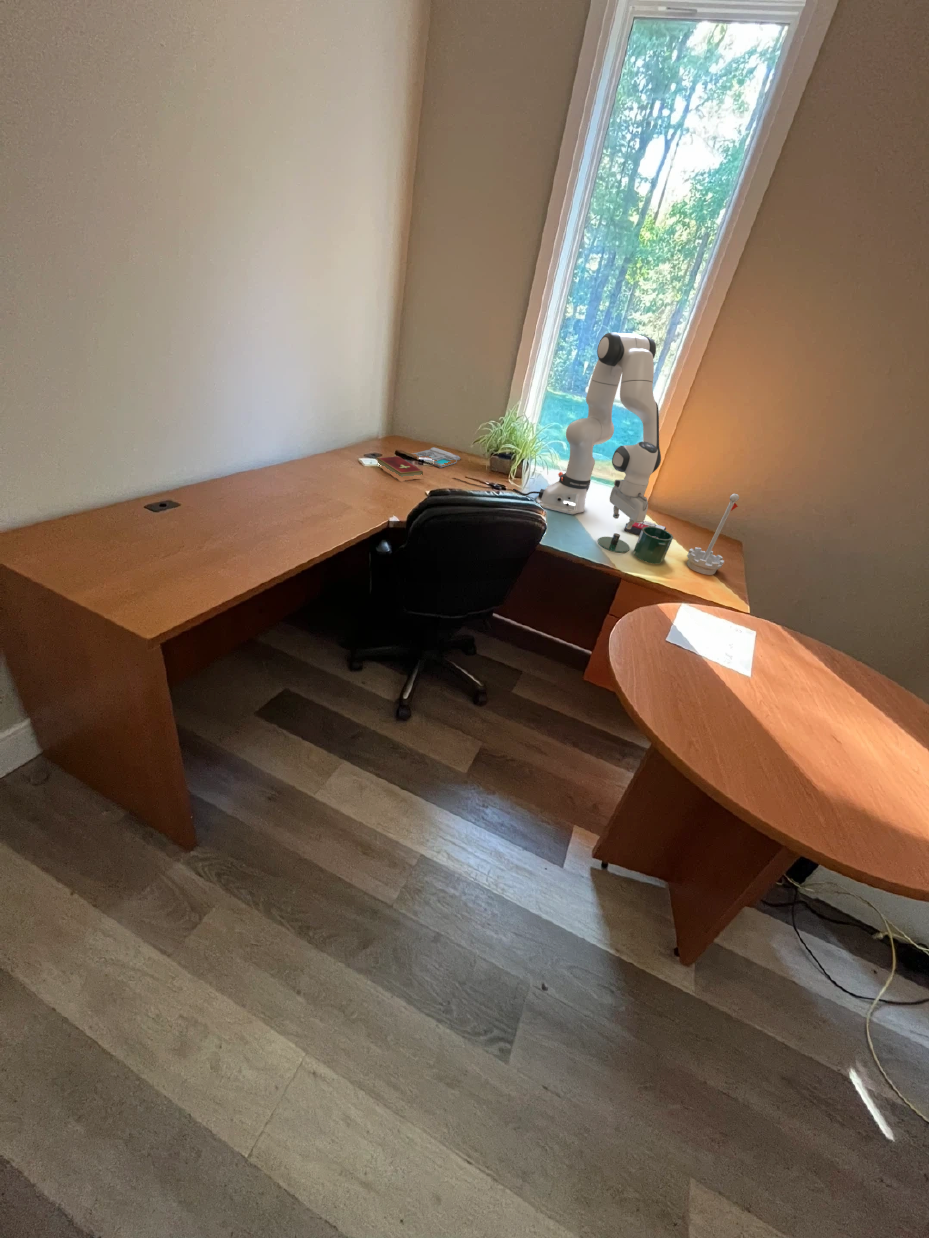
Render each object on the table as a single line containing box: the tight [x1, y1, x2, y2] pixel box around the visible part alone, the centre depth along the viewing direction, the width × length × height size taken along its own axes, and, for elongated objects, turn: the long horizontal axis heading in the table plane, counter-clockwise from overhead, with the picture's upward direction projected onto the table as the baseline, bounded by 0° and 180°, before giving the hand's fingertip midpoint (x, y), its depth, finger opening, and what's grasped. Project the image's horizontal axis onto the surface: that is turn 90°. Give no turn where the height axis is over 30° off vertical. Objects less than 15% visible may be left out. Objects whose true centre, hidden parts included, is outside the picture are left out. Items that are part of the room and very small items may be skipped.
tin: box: [632, 525, 674, 565], centre depth 188 cm, size 12×17×10 cm
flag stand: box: [686, 493, 740, 576], centre depth 182 cm, size 13×13×30 cm
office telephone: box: [412, 446, 461, 469], centre depth 253 cm, size 23×3×20 cm
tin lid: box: [597, 532, 630, 554], centre depth 193 cm, size 13×13×5 cm
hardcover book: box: [376, 455, 424, 477], centre depth 228 cm, size 12×21×4 cm, turn 39°
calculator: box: [624, 520, 667, 537], centre depth 210 cm, size 11×4×15 cm
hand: (621, 523), depth 189 cm, fingers open, 8 cm apart
